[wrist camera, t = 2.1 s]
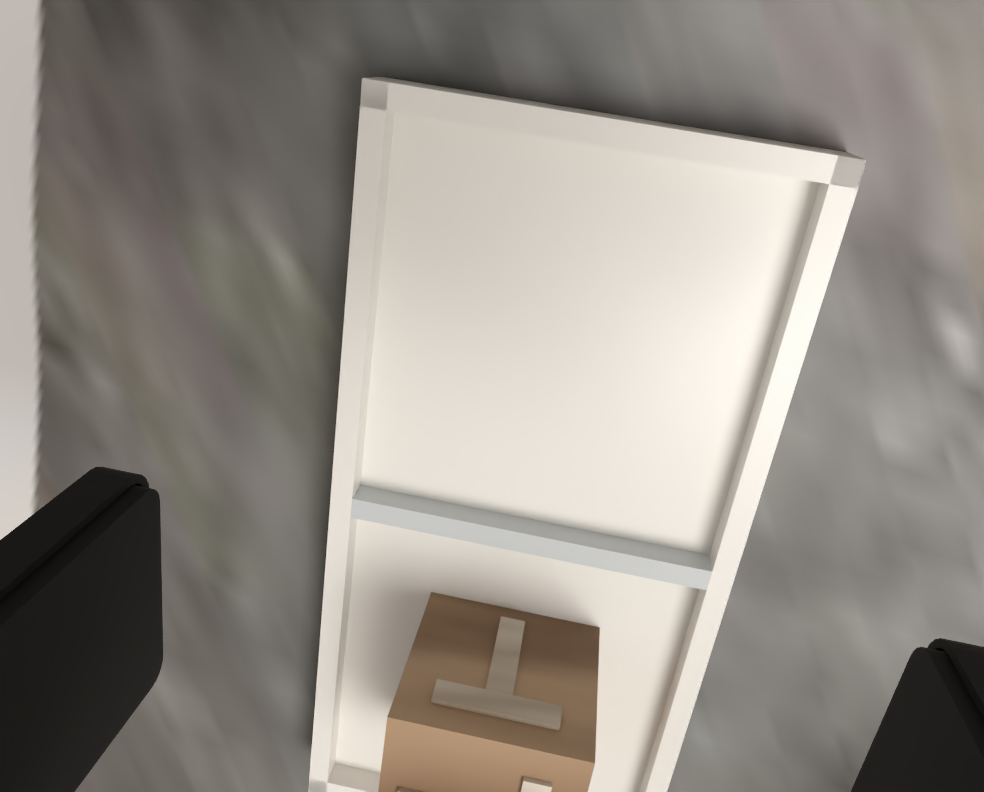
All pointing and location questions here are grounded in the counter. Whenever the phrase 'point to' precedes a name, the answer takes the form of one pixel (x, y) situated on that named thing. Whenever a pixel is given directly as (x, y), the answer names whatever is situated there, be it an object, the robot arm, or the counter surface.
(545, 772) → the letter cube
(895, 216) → the counter surface
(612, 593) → the tray
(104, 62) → the counter surface
